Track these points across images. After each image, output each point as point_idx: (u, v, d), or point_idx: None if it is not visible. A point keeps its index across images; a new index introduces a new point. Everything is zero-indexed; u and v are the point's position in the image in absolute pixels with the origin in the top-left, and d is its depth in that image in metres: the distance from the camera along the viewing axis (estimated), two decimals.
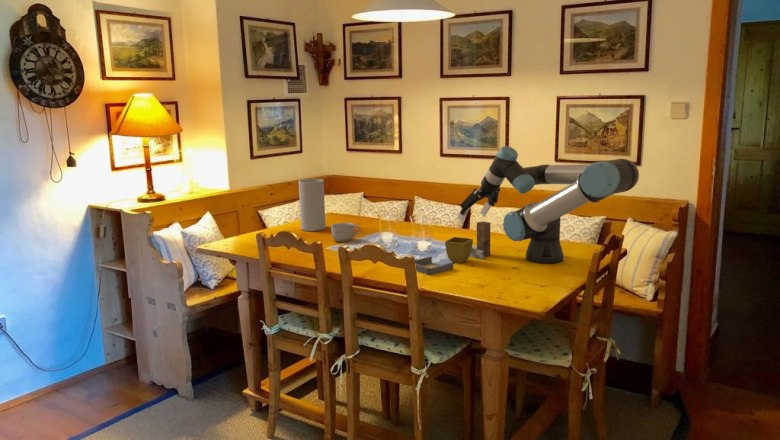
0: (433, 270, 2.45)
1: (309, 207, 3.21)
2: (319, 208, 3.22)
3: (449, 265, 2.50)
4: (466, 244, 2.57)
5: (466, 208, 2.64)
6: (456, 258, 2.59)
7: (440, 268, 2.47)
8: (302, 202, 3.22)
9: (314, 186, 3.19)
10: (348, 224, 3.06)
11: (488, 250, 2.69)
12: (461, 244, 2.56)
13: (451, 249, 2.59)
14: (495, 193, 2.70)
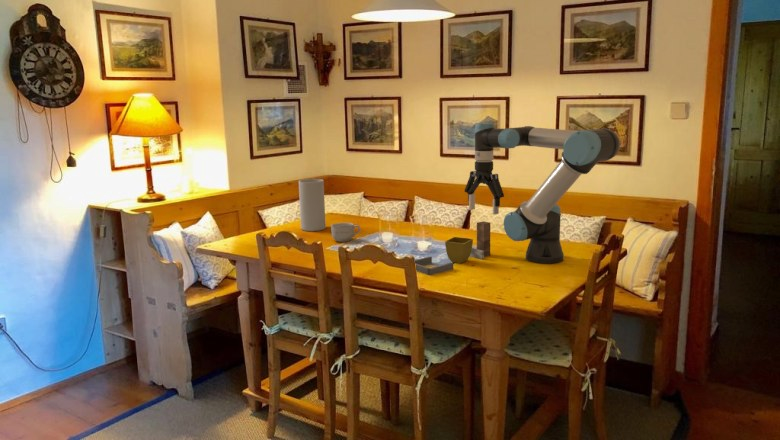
0: (433, 270, 2.45)
1: (309, 207, 3.21)
2: (319, 208, 3.22)
3: (449, 265, 2.50)
4: (466, 244, 2.57)
5: None
6: (456, 258, 2.59)
7: (440, 268, 2.47)
8: (302, 202, 3.22)
9: (314, 186, 3.19)
10: (348, 224, 3.06)
11: (488, 250, 2.69)
12: (461, 244, 2.56)
13: (451, 249, 2.59)
14: (473, 179, 2.70)
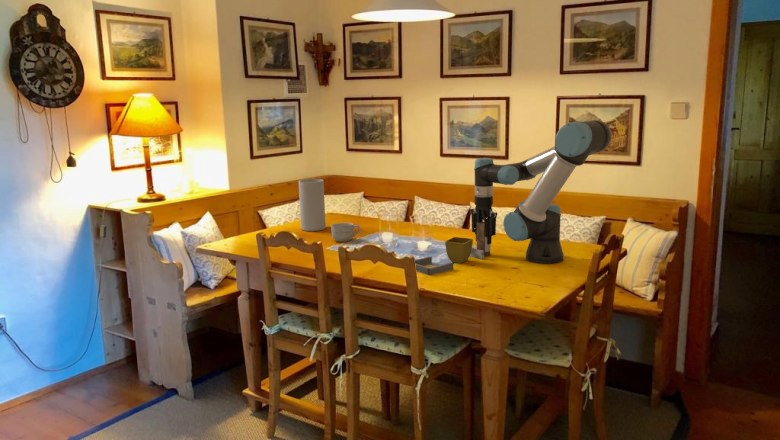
0: (433, 270, 2.45)
1: (309, 207, 3.21)
2: (319, 208, 3.22)
3: (449, 265, 2.50)
4: (466, 244, 2.57)
5: None
6: (456, 258, 2.59)
7: (440, 268, 2.47)
8: (302, 202, 3.22)
9: (314, 186, 3.19)
10: (348, 224, 3.06)
11: None
12: (461, 244, 2.56)
13: (451, 249, 2.59)
14: (476, 216, 2.72)
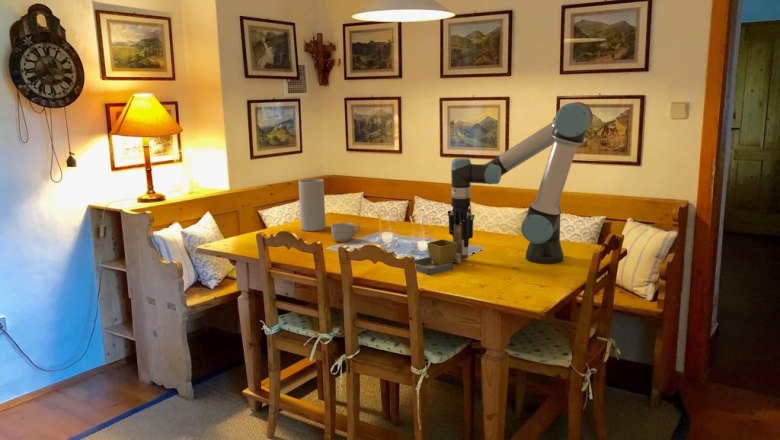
0: (433, 270, 2.45)
1: (309, 207, 3.21)
2: (319, 208, 3.22)
3: (449, 265, 2.50)
4: (445, 247, 2.52)
5: None
6: (436, 261, 2.56)
7: (440, 268, 2.47)
8: (302, 202, 3.22)
9: (314, 186, 3.19)
10: (348, 224, 3.06)
11: None
12: (439, 247, 2.52)
13: (432, 251, 2.56)
14: (453, 218, 2.64)
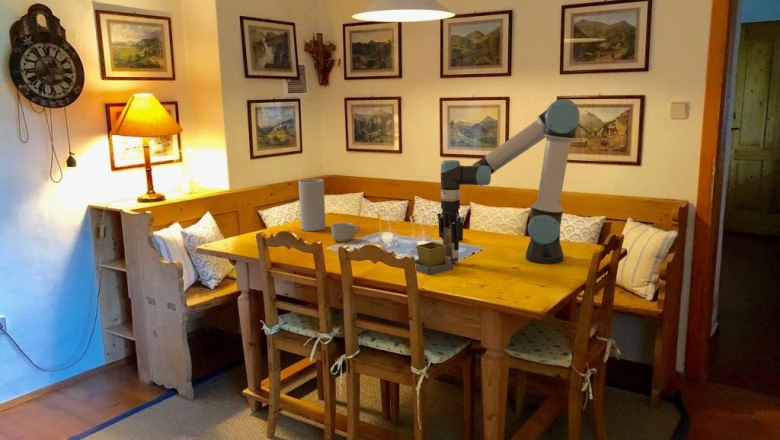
0: (433, 270, 2.45)
1: (309, 207, 3.21)
2: (319, 208, 3.22)
3: (449, 265, 2.50)
4: (434, 250, 2.49)
5: None
6: (426, 264, 2.52)
7: (440, 268, 2.47)
8: (302, 202, 3.22)
9: (314, 186, 3.19)
10: (348, 224, 3.06)
11: None
12: (428, 250, 2.48)
13: (421, 254, 2.52)
14: None
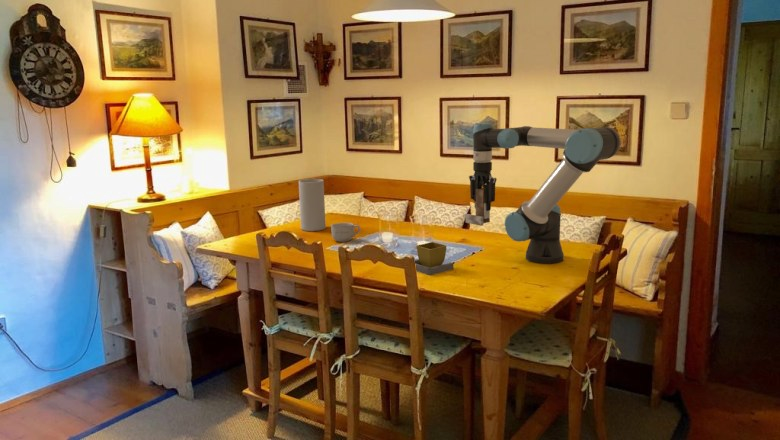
0: (433, 270, 2.45)
1: (309, 207, 3.21)
2: (319, 208, 3.22)
3: (449, 265, 2.50)
4: (434, 250, 2.49)
5: None
6: (426, 264, 2.52)
7: (440, 268, 2.47)
8: (302, 202, 3.22)
9: (314, 186, 3.19)
10: (348, 224, 3.06)
11: None
12: (428, 250, 2.48)
13: (421, 254, 2.52)
14: (475, 183, 2.68)
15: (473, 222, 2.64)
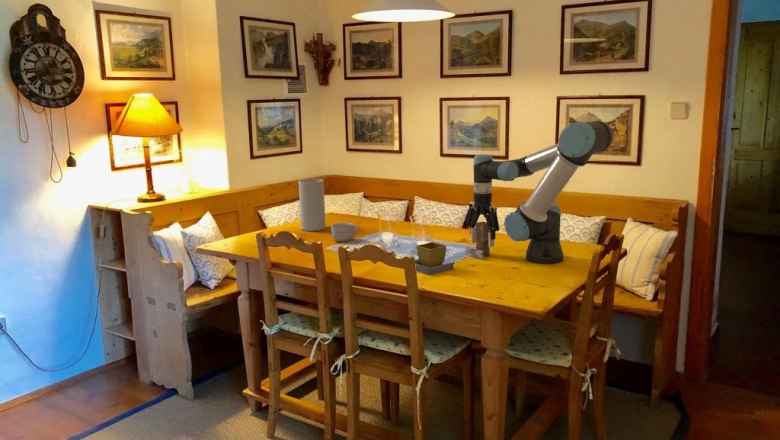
0: (433, 270, 2.45)
1: (309, 207, 3.21)
2: (319, 208, 3.22)
3: (449, 265, 2.50)
4: (434, 250, 2.49)
5: None
6: (426, 264, 2.52)
7: (440, 268, 2.47)
8: (302, 202, 3.22)
9: (314, 186, 3.19)
10: (348, 224, 3.06)
11: (487, 250, 2.69)
12: (428, 250, 2.48)
13: (421, 254, 2.52)
14: (473, 211, 2.71)
15: (473, 256, 2.67)
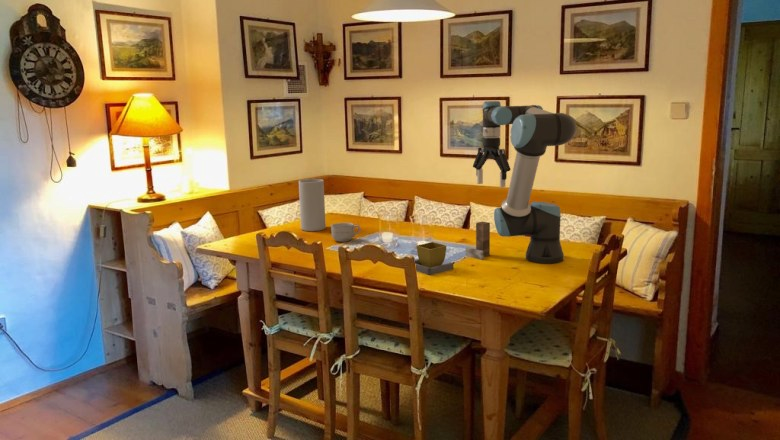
0: (433, 270, 2.45)
1: (309, 207, 3.21)
2: (319, 208, 3.22)
3: (449, 265, 2.50)
4: (434, 250, 2.49)
5: None
6: (426, 264, 2.52)
7: (440, 268, 2.47)
8: (302, 202, 3.22)
9: (314, 186, 3.19)
10: (348, 224, 3.06)
11: (487, 250, 2.69)
12: (428, 250, 2.48)
13: (421, 254, 2.52)
14: (481, 155, 2.86)
15: (473, 256, 2.67)
